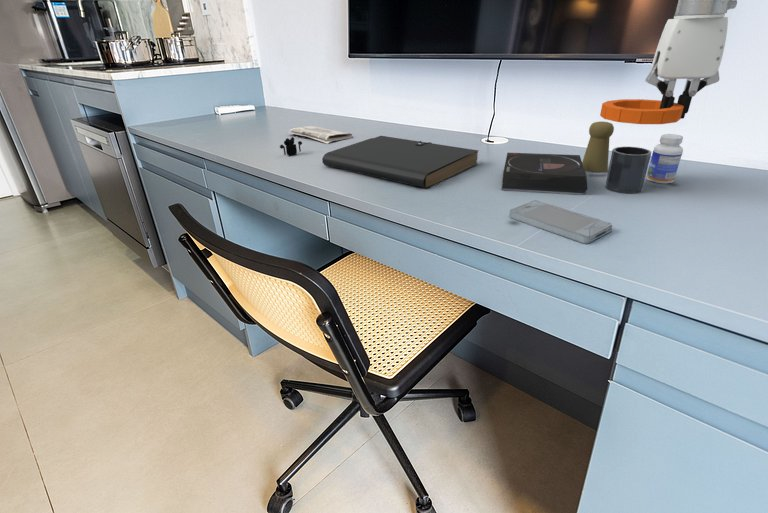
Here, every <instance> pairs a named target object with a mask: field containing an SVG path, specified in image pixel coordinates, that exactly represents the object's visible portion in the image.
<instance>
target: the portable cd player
mask: <svg viewBox="0 0 768 513" xmlns="http://www.w3.org/2000/svg"><path fill="white" fill-rule="evenodd" d="M582 162H583V160H582V158H581V155H580V154H559V153H557V154H555V153H534V152H533V153H529V152H525V153H524V152H507V153H506V157H505V162H504V168H503V173H502V181H501V182H502V183H501V191H511V192H527V193H529V192H530V193H544V194H545V193H546V194H559V195H561V194H562V195H578V196H579V195H580V196H583V195H585V193H586V192H587V191H588V175H587V173H586V171H585V170H584V167H583V164H582Z"/></svg>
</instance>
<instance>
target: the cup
mask: <svg viewBox="0 0 768 513" xmlns="http://www.w3.org/2000/svg"><path fill="white" fill-rule="evenodd" d="M651 157H652V151H651V150H650V149H647V148H644V147H639V146H617V147H614V148H613V149H612V151H611V154H610V159H609V163H608V170H607V173H606V179H605V186H604V187H605V189H606V190H608V191H611V192H614V193H619V194H638V193H641V192H642V191H643V188H644V184H645V181H646V178H647V173H648V169H649V165H650V161H651Z"/></svg>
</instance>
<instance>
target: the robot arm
mask: <svg viewBox="0 0 768 513" xmlns="http://www.w3.org/2000/svg"><path fill="white" fill-rule="evenodd" d="M737 4H738V0H677V2H676V6H675V12H674V15H673V18H668V19H667V21H666V23H665V25H664V27H663V29H662V33H661V36H660V38H659V41H658V44H657V47H656V48H655V49H656V50H655V52H654V56H653V59H652V63H651V67H650V72H649V73H648V75H647V76H646V78H645V80H644V81H645V83H647V84H650V85H651V86H653V87H656V88H657V90H658V91H659V92H660V94H661V95H662V98H661V100H660V101H661V104H660V108H659V109H664V108H670V107H672V106H673V104H674V103H675V100H676V97H675V96H674V91H675V87H676V83H677V80H686V81H685V84H684V88H683V91H682V94H679V96H678V99H677V102H676V103H678V104H680V105H682V106H684V108H683V112H682V115H681V119H683V120H684V119H685V116H686V114H688V112H689V110H690V106H691V103H692V99H693V97H695V96H696V95H697V93H699V92H700V91H701V90H703V89H704V88H705V87H708V86H710V85H713V84H716V83H718V82H719V81H720V72H719V71H720V70H719V69H720V66H721V62H722V60H723V55H724V51H725V46H726V41H727V36H728V35H727V34H728V27H729V26H728V25H729V17H728V16H725V15H726V14H727V13H728V11H729V10H734V9H735V8H736V7H737ZM658 77H659V78H660V79H659V78H658ZM661 79H663V80H661ZM681 119H680V120H681Z"/></svg>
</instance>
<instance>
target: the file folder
mask: <svg viewBox="0 0 768 513" xmlns="http://www.w3.org/2000/svg"><path fill="white" fill-rule="evenodd" d="M478 154H479V150H477V149H472V148H466V147H459V146H453V145H446V144H440V143H439V144H437V143H432V142H426V141H422V140H420V141H419V140H413V139H412V140H411V139H406V138H399V137H391V136H386V135H379V136H376V137H372V138H368V139H365V140H362V141H359V142H354V143H352V144H350V145H349V144H348V145H347V146H343V147H340V148H337V149H333V150H330V151H328V152H326V153H325V154H324V155H323V156H322V164H323V165H324V166H327V167H331V168H335V169H340V170H345V171H348V172H353V173H358V174H361V175H367V176H371V177H374V178H375V177H376V178H379V179H383V180H388V181H392V182H398V183H402V184H406V185H411V186H415V187H419V188H423V189H430V188H432V187H434V186H436V185H438V184H440V183H442V182H444V181H446V180H448V179H450V178H452V177H454V176H457V175H458V174H460V173H462V172H465V171H467V170H469V169H471V168H473V167H475V166H477V165H478Z"/></svg>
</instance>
